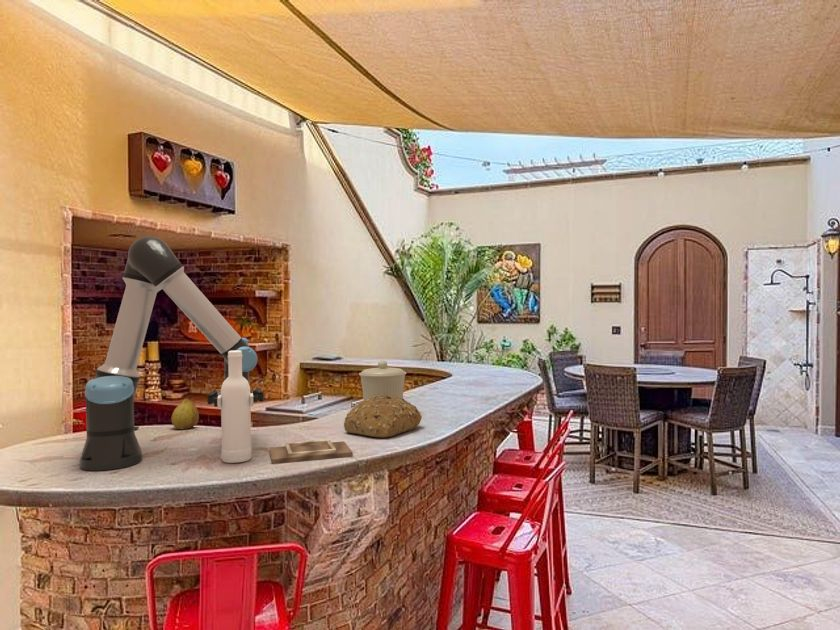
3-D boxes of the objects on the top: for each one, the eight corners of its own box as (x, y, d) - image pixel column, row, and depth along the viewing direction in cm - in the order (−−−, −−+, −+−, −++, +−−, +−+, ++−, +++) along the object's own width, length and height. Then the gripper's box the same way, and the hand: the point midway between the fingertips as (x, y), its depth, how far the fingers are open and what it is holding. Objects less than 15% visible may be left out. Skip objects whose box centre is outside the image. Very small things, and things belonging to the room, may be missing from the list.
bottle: (215, 460, 161) (213, 351, 161) (239, 454, 167) (238, 349, 167) (233, 464, 156) (231, 352, 156) (257, 458, 163) (255, 350, 162)
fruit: (166, 430, 204) (165, 396, 204) (182, 425, 213) (182, 392, 213) (188, 431, 202) (187, 396, 202) (204, 425, 211) (203, 392, 211)
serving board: (271, 463, 158) (271, 455, 158) (269, 451, 171) (269, 444, 171) (352, 456, 164) (352, 448, 164) (344, 445, 177) (344, 438, 177)
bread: (377, 421, 213) (376, 389, 213) (427, 427, 202) (426, 392, 202) (334, 435, 193) (333, 398, 192) (387, 442, 181) (386, 403, 181)
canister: (362, 411, 233) (361, 358, 233) (407, 411, 233) (406, 358, 233) (357, 420, 215) (356, 363, 215) (406, 420, 215) (405, 362, 214)
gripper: (271, 401, 182) (275, 413, 160) (200, 405, 176) (194, 418, 154) (271, 377, 182) (274, 386, 160) (200, 380, 176) (194, 390, 154)
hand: (235, 402), depth 157 cm, fingers closed on bottle, 8 cm apart
